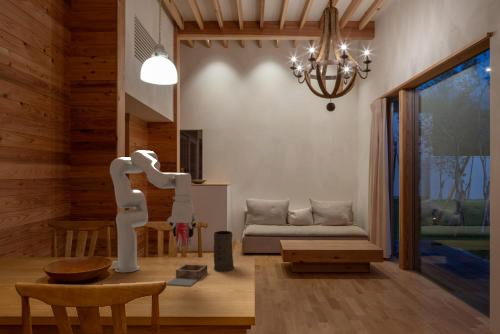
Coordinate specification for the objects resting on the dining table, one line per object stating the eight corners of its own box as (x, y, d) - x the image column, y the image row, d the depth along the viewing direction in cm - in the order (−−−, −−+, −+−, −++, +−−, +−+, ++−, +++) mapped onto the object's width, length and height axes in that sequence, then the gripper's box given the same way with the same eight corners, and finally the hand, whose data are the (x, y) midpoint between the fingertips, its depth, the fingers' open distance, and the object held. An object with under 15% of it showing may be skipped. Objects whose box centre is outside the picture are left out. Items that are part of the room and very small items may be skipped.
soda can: (176, 245, 180) (176, 220, 180) (191, 244, 180) (191, 219, 181) (175, 248, 173) (175, 222, 173) (190, 247, 173) (190, 222, 173)
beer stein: (230, 272, 192) (230, 234, 192) (210, 271, 194) (210, 233, 195) (237, 265, 207) (237, 229, 208) (219, 264, 209) (219, 228, 210)
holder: (176, 278, 182) (176, 270, 183) (185, 271, 194) (185, 264, 194) (199, 279, 180) (199, 271, 180) (207, 273, 191) (207, 265, 192)
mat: (166, 284, 172) (166, 283, 172) (175, 278, 182) (175, 277, 182) (190, 286, 169) (190, 285, 169) (198, 280, 179) (198, 279, 179)
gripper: (162, 199, 175) (162, 237, 175) (197, 199, 171) (197, 238, 171) (169, 198, 182) (169, 234, 182) (203, 198, 179) (203, 235, 178)
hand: (183, 236), depth 177 cm, fingers closed on soda can, 7 cm apart
